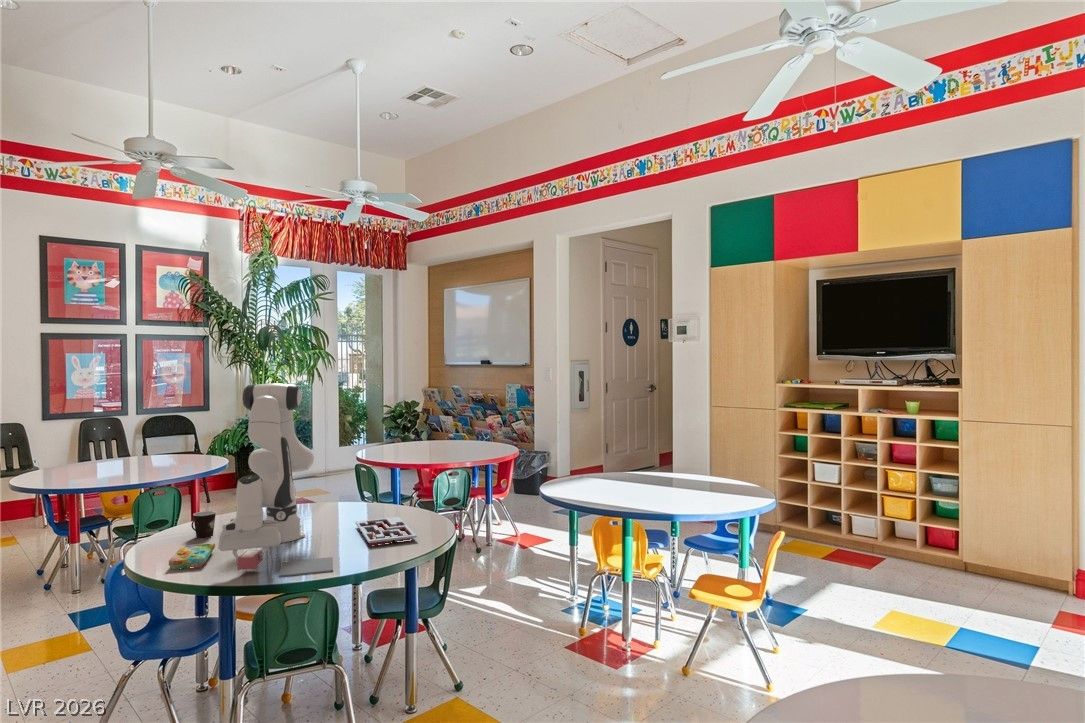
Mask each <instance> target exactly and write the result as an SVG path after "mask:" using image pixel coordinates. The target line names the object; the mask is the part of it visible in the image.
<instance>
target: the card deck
mask: <svg viewBox="0 0 1085 723" xmlns="http://www.w3.org/2000/svg"><path fill="white" fill-rule="evenodd" d="M263 551H264V550H263V549H261V550H260V549H258V550H257V549H256V550H255V549H254V550H252V549H251V550H250V549H249V550H245V552H243V553H242V554H241V555H239V556H240V557H238V558H237V562H236V563H237V570H239V571H240V570H255V569H256V568H257V567H258V566H259V565H260V564H261V563H263V561H264V560H260V554H262V553H263Z"/></svg>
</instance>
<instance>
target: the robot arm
mask: <svg viewBox="0 0 1085 723" xmlns="http://www.w3.org/2000/svg"><path fill="white" fill-rule="evenodd" d="M241 396H242V397H241V400H242V404H243V407H244V408H246V409H247V410H248V411H250V413H249V417H248V418H249V419H248V428H247V435H248V439H249V440H250V442H251V443H252V444H253V445H255V446H256V447H257V449H254V450H253V451H252V452H250V454H249V457H248V467H249V469H250V470H251V471H252V472H253V473H255V474H249V475H245V476H241V478H239V479H238V480H237V485H236V492H235V502H236V503H235V504H236V507H237V510H236V514H235V516H236V517H233V518H231V519H228V520H225V521H224V522H223V524H222V527H221V528H222V531H221V533H220V535H219V538H218V551H220V552H227V551H232V555H233V556H234V557H235V562H236V563H237V558H238V557H240V556H241V555H239V554H238V550H240V551H241V550H248V549H249V550H250V549H251V550H252V549H261V548H262V550H263V553H262V554H260V560H263V561H264V560H265V554H266V553H267V551H268V548H270V547H271V548H272V547H279V545H280V544H281V543H287V542H292V541H295V540H298V539H302V538H305V537H306V533H305V532H304V531H303V529H302V525H301V517H300V516H299V515H298V514H297V513H298V510H297V509H298V506H297V505H298V504H296V494H297V493H296V489H297V488H296V486H295V484H294V479H293V474H294V473H301V472H306V471H309V470H310V469H311V468H312V466H313V464H314V461H315V460H314V453H313V451H312V450H311V449H310V448H309V447H307V446H306V445H304V444H303V443H302V442H301V441H300V440H299V438H298V437H297V435H296V431H295V426H294V412H293V410H296V409H297V408H299V407H300V405H301V403H302V400H303V399H302V397H303V395H302V392H301V388H300V386H298V385H296V384H294V383H293V384H292V383H289V384H287V383H277V382H273V383H262V384H261V383H260V384H256V383H252V384H248V385H247V386H246V387H245V388H243V392H242V395H241ZM263 508H266V517H265V518H264V510H263Z"/></svg>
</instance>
